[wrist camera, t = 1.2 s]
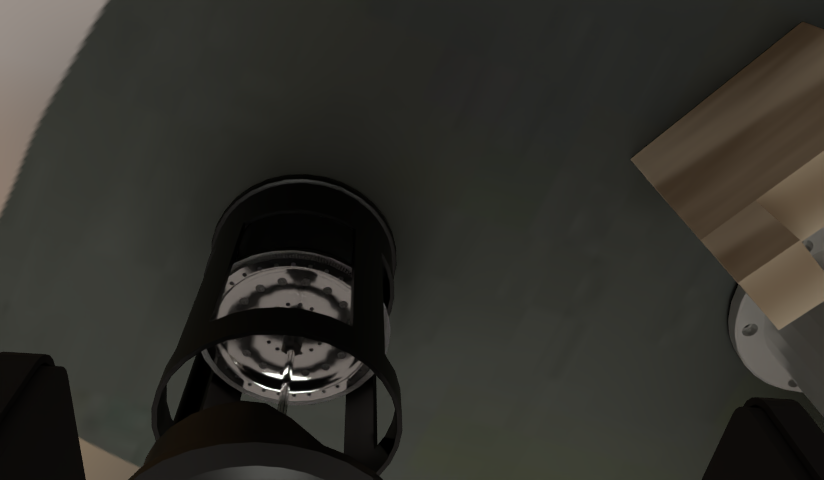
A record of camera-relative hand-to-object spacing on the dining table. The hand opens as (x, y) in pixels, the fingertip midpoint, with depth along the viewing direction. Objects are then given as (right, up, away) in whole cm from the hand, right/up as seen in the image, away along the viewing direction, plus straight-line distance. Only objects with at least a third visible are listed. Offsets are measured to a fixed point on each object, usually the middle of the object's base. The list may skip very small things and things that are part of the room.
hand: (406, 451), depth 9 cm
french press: (-6, +2, +25) cm, 26 cm away
